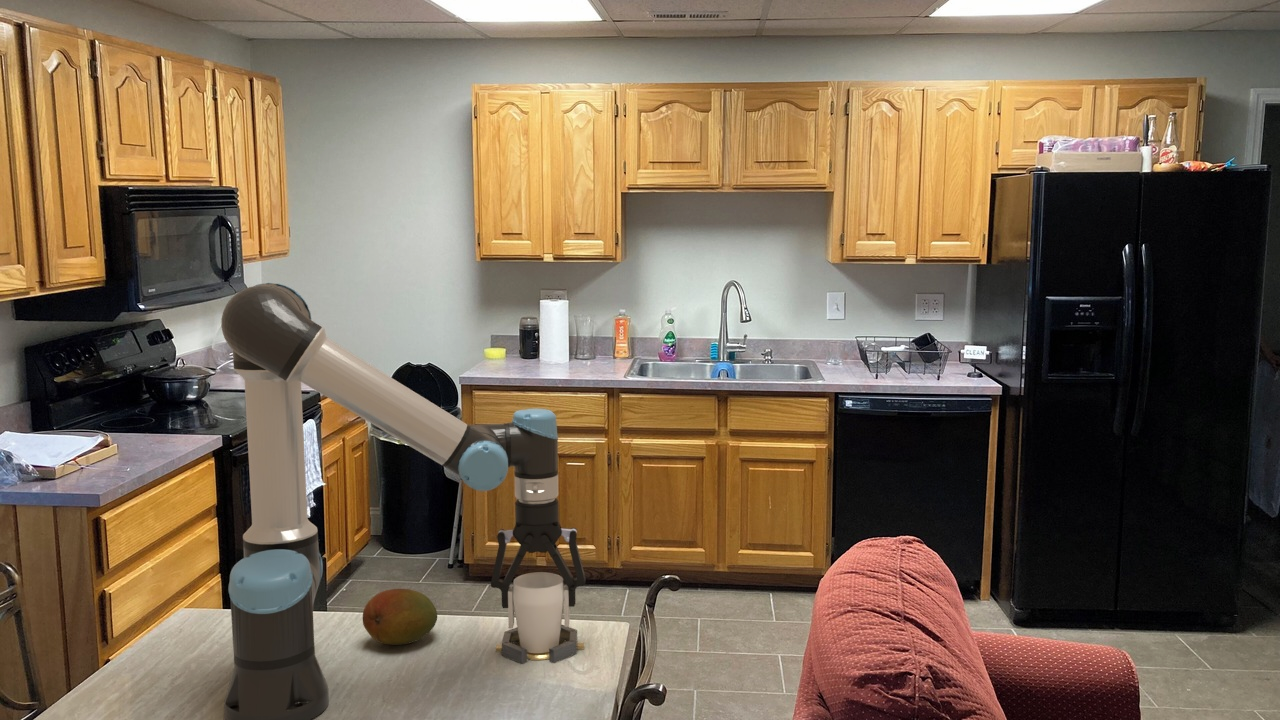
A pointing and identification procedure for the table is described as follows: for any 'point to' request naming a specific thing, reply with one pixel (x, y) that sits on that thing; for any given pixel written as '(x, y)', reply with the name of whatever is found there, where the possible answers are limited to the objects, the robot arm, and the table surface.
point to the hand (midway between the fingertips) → (539, 624)
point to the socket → (553, 655)
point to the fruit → (399, 616)
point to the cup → (538, 610)
